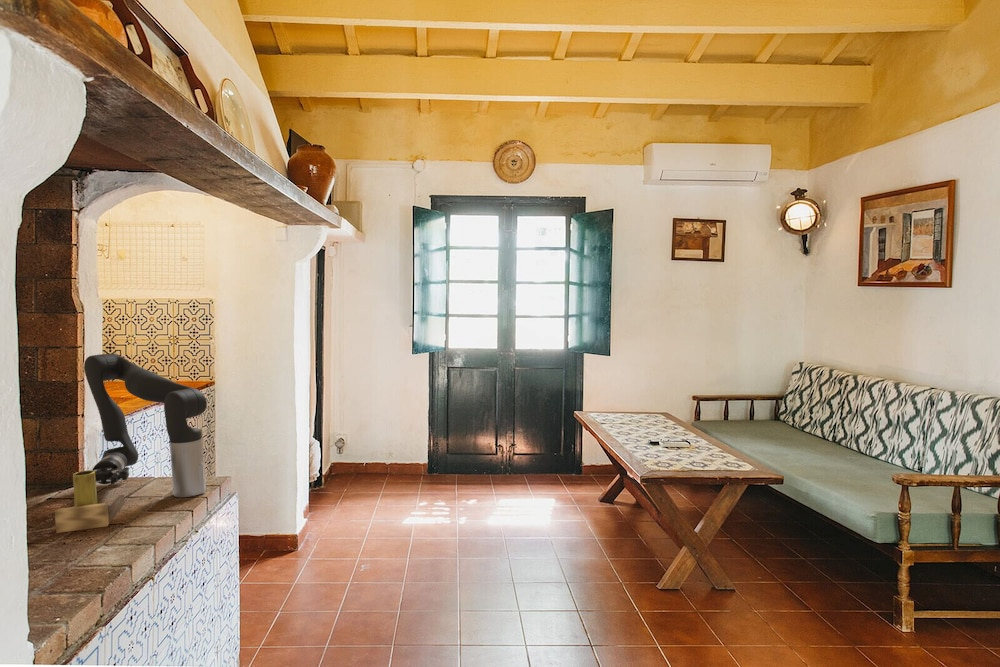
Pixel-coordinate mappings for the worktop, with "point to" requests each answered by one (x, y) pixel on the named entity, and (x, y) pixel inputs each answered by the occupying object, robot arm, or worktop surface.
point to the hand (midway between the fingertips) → (95, 482)
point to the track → (87, 516)
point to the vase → (85, 488)
